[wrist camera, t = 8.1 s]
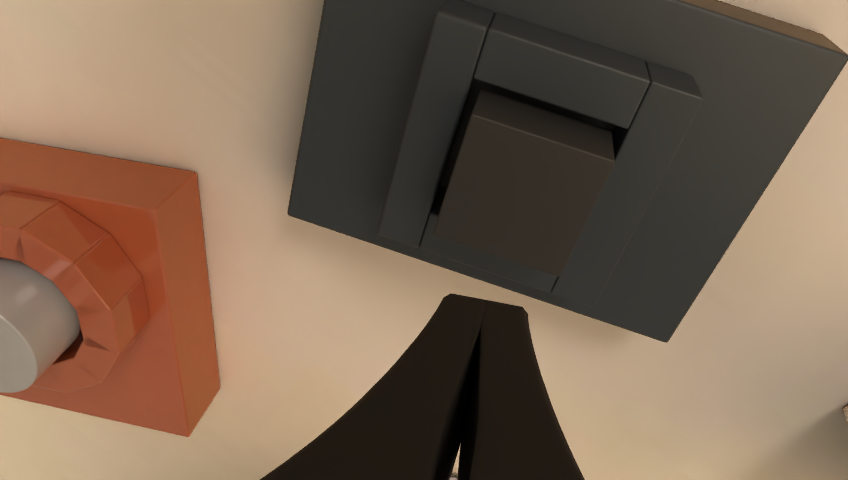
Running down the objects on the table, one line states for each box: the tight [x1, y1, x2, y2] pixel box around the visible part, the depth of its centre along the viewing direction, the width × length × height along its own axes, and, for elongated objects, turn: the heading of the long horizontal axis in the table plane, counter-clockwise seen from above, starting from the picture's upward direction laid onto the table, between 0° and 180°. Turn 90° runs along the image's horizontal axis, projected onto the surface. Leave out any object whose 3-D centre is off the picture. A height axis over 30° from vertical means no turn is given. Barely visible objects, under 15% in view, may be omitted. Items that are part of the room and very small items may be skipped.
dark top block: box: [433, 89, 615, 277], centre depth 16 cm, size 3×3×2 cm
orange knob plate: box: [0, 138, 220, 437], centre depth 23 cm, size 10×8×4 cm
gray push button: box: [0, 258, 80, 393], centre depth 20 cm, size 4×4×2 cm
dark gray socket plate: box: [288, 0, 848, 342], centre depth 17 cm, size 9×12×4 cm
